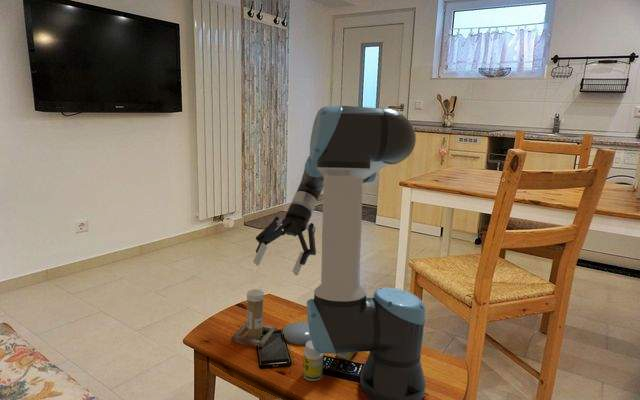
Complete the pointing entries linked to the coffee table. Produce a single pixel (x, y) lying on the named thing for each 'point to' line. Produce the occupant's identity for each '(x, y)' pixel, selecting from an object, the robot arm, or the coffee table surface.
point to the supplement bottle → (312, 363)
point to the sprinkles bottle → (254, 313)
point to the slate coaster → (297, 333)
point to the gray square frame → (248, 341)
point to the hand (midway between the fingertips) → (274, 268)
